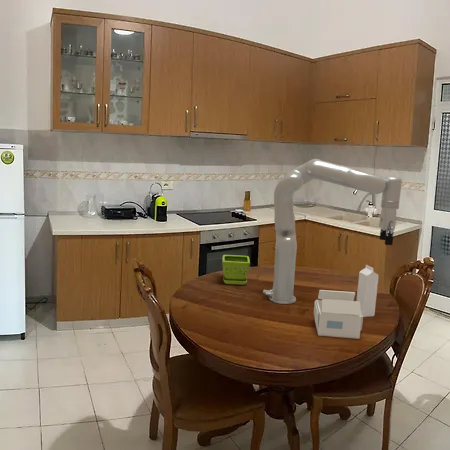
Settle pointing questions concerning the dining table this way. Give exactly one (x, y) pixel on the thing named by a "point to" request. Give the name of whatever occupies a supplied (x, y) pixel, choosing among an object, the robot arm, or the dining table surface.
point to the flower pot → (230, 269)
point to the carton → (337, 323)
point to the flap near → (341, 306)
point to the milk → (367, 291)
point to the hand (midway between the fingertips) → (385, 242)
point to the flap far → (336, 295)
